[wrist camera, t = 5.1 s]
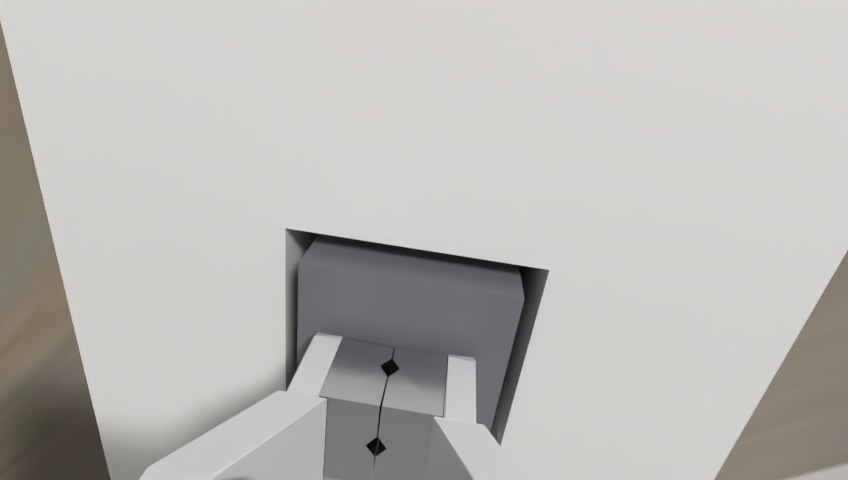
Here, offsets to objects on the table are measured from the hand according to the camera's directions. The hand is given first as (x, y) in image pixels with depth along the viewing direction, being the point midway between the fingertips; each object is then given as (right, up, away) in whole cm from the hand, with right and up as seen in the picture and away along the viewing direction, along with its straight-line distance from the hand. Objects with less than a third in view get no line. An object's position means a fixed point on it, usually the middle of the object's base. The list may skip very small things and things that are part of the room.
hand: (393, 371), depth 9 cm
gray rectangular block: (+1, +2, +5) cm, 6 cm away
